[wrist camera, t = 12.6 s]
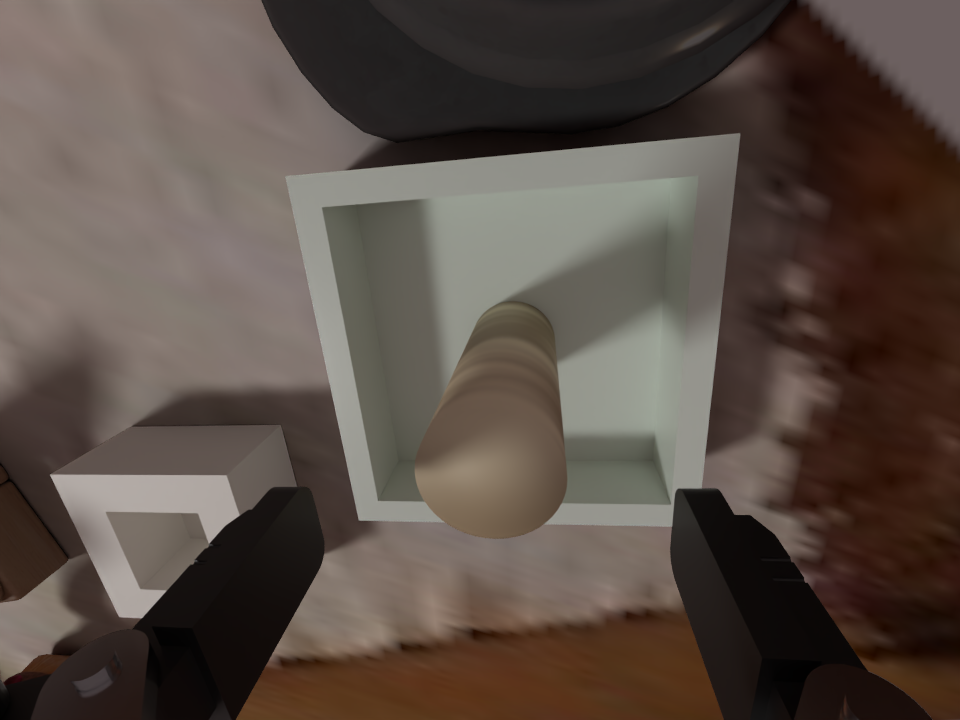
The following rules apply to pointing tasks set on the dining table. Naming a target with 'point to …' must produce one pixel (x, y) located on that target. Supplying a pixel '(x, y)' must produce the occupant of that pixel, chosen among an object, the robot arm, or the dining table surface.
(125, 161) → the dining table surface
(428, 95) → the casserole
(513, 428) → the dowel
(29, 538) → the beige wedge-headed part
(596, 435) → the tray
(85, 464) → the holder
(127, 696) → the robot arm
